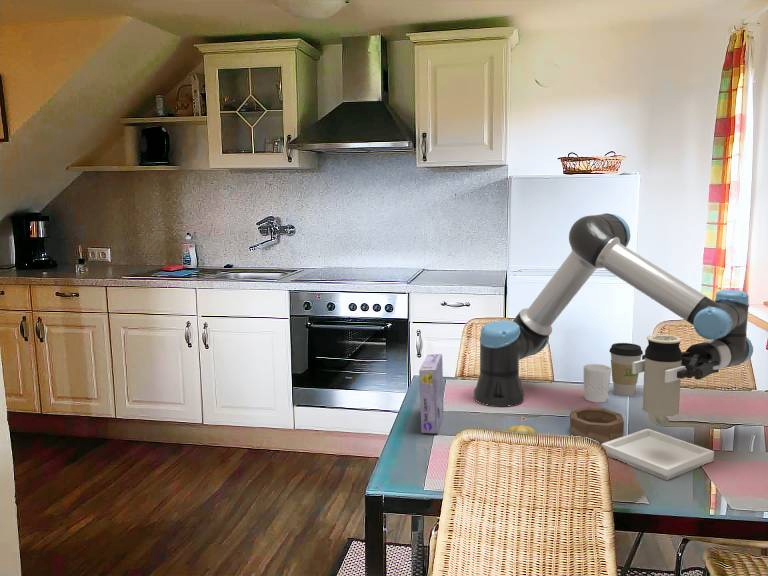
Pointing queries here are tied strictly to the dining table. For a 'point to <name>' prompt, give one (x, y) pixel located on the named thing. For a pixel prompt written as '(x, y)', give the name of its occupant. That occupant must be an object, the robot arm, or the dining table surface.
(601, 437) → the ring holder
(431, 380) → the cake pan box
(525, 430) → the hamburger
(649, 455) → the tray
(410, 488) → the dining table surface
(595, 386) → the white cup
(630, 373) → the coffee cup
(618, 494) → the dining table surface
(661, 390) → the travel mug
